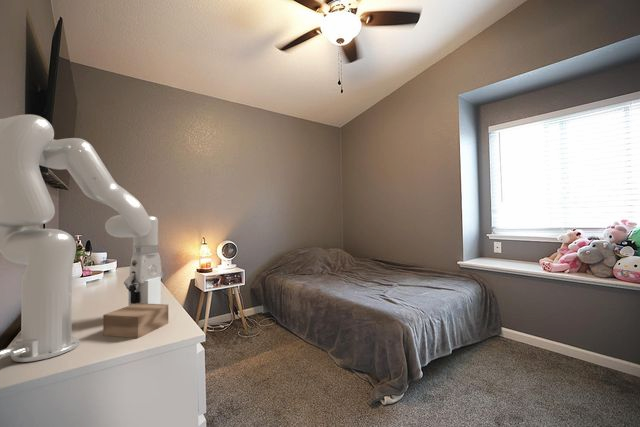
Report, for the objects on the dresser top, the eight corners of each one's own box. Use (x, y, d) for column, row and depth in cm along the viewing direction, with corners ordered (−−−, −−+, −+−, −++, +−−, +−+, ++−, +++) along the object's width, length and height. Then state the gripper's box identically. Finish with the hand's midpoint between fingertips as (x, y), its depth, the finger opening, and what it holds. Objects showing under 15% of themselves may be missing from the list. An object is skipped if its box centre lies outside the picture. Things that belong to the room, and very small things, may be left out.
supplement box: (161, 311, 105) (161, 276, 106) (147, 317, 98) (147, 280, 98) (142, 310, 106) (143, 276, 106) (127, 317, 98) (127, 280, 99)
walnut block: (138, 338, 82) (137, 317, 82) (103, 335, 84) (103, 314, 84) (168, 323, 94) (168, 304, 94) (137, 321, 96) (137, 303, 96)
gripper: (134, 253, 93) (133, 307, 93) (172, 248, 110) (171, 294, 110) (114, 252, 95) (114, 306, 94) (155, 248, 112) (154, 293, 111)
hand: (145, 299), depth 102 cm, fingers closed on supplement box, 7 cm apart
